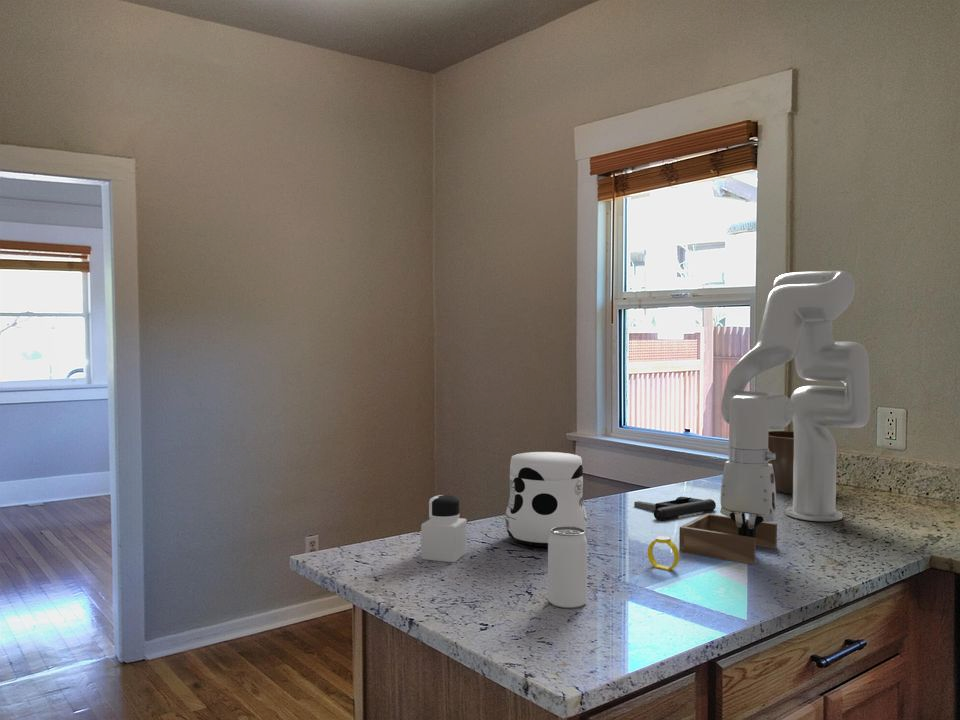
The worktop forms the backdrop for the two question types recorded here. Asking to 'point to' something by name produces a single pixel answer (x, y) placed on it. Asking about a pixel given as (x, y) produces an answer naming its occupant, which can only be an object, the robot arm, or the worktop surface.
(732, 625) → the worktop surface
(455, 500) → the medicine bottle
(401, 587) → the worktop surface
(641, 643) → the worktop surface
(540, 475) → the milk container
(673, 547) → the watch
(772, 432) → the plant pot
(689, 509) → the door handle
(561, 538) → the can
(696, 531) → the box
